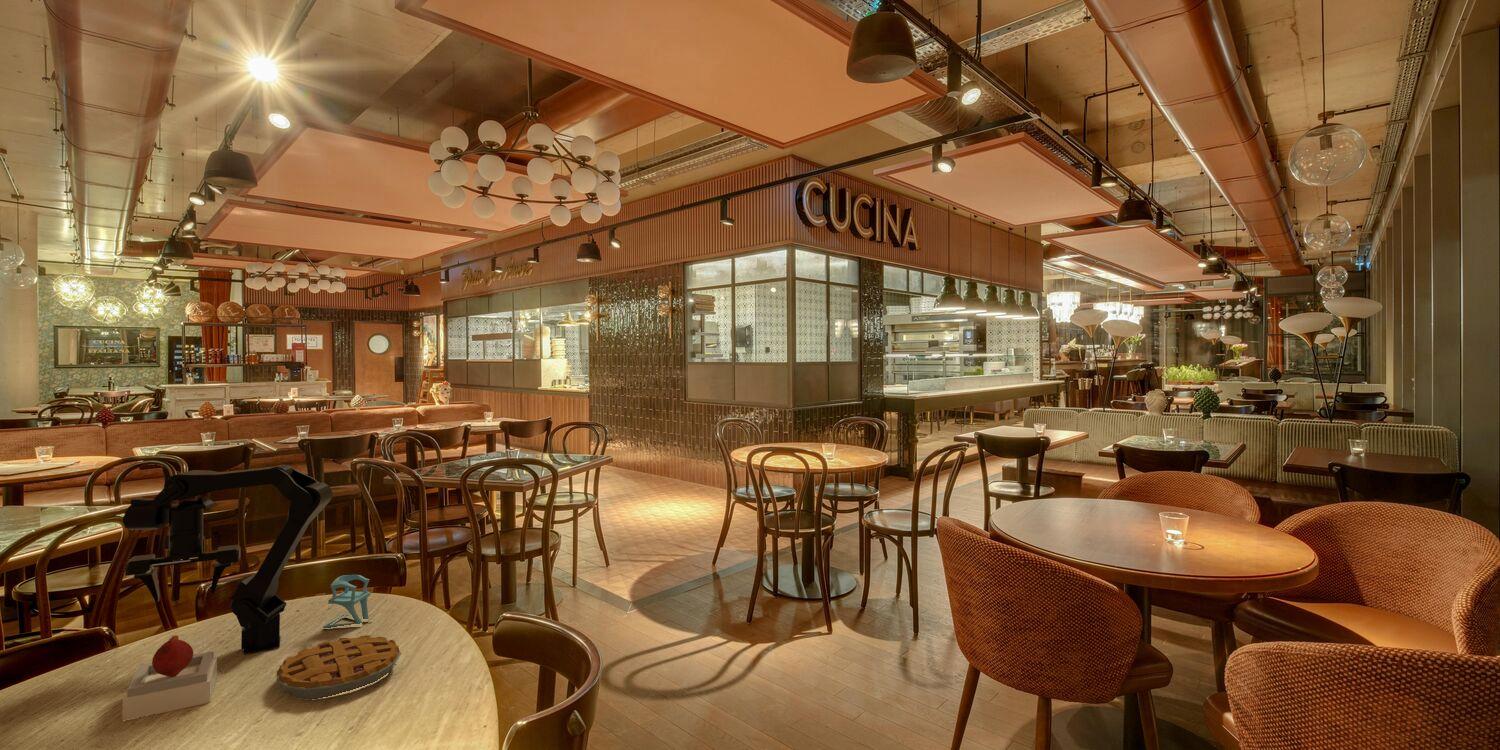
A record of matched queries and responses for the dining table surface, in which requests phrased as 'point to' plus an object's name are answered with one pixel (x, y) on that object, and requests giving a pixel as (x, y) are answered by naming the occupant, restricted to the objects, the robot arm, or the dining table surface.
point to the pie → (337, 666)
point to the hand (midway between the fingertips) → (185, 597)
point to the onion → (172, 657)
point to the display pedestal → (170, 688)
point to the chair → (349, 598)
